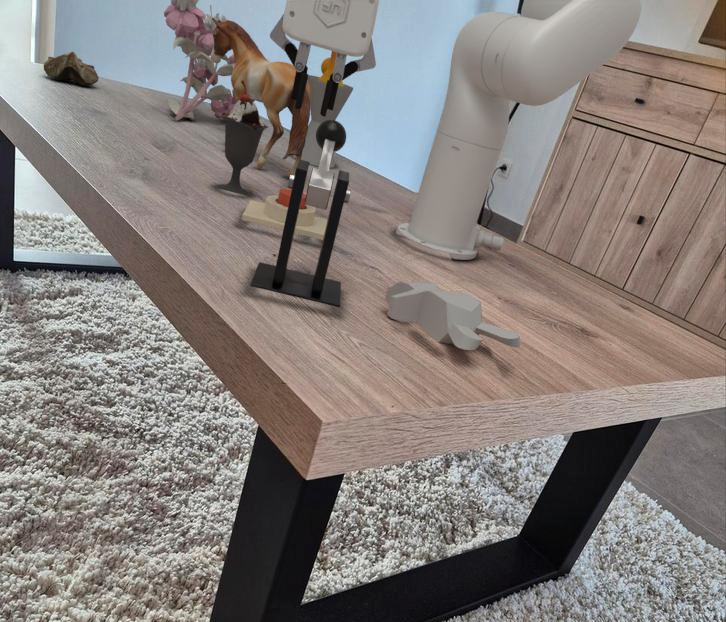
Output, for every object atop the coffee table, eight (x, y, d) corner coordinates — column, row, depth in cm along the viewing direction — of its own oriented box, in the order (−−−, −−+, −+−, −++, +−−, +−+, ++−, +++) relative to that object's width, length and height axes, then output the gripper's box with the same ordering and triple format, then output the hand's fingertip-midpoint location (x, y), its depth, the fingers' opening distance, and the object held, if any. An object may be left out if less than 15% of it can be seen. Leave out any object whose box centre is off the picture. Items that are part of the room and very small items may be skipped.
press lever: (315, 136, 73) (321, 110, 70) (344, 144, 73) (350, 118, 71) (298, 206, 66) (303, 179, 63) (330, 215, 66) (337, 188, 64)
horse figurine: (193, 135, 127) (210, 14, 118) (229, 140, 132) (248, 24, 123) (283, 189, 108) (311, 50, 99) (321, 192, 113) (352, 60, 104)
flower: (262, 138, 134) (289, 14, 134) (145, 98, 126) (173, -35, 126) (242, 160, 153) (266, 51, 152) (139, 127, 145) (164, 11, 144)
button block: (327, 231, 94) (333, 207, 92) (325, 248, 87) (331, 222, 85) (248, 211, 92) (253, 186, 91) (240, 227, 85) (244, 200, 84)
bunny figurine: (437, 272, 76) (537, 318, 65) (427, 316, 78) (523, 367, 67) (369, 270, 70) (466, 319, 59) (360, 317, 72) (452, 373, 61)
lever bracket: (257, 272, 73) (280, 151, 67) (338, 291, 74) (368, 175, 68) (248, 295, 67) (273, 164, 61) (337, 316, 68) (370, 190, 62)
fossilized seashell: (103, 75, 146) (55, 70, 145) (95, 46, 140) (45, 41, 140) (95, 97, 142) (46, 93, 142) (87, 69, 137) (36, 64, 136)
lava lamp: (342, 170, 135) (390, -29, 119) (301, 163, 130) (344, -45, 114) (325, 158, 141) (367, -32, 126) (285, 151, 137) (324, -48, 121)
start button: (305, 206, 90) (308, 193, 89) (303, 213, 87) (306, 200, 86) (278, 199, 89) (281, 186, 89) (275, 206, 86) (278, 192, 85)
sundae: (220, 181, 102) (236, 76, 96) (261, 194, 102) (281, 89, 95) (202, 188, 97) (218, 76, 90) (246, 202, 96) (266, 90, 89)
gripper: (271, -91, 70) (240, 96, 78) (420, -44, 72) (375, 133, 80) (278, -81, 77) (249, 90, 85) (414, -39, 79) (373, 125, 87)
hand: (310, 110), depth 83 cm, fingers closed
